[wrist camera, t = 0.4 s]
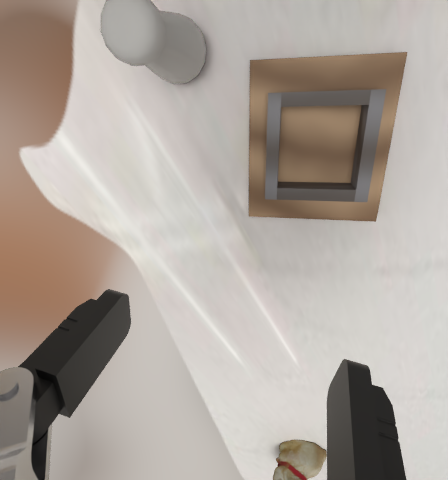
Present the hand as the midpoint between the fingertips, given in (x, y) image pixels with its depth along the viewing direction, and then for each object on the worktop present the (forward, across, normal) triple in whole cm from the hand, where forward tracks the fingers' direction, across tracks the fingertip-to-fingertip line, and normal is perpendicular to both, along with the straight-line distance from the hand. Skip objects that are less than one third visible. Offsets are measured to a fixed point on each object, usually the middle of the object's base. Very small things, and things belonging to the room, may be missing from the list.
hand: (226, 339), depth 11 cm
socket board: (+27, -2, -1) cm, 28 cm away
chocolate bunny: (+21, -13, +48) cm, 54 cm away
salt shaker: (+28, +13, -7) cm, 31 cm away
